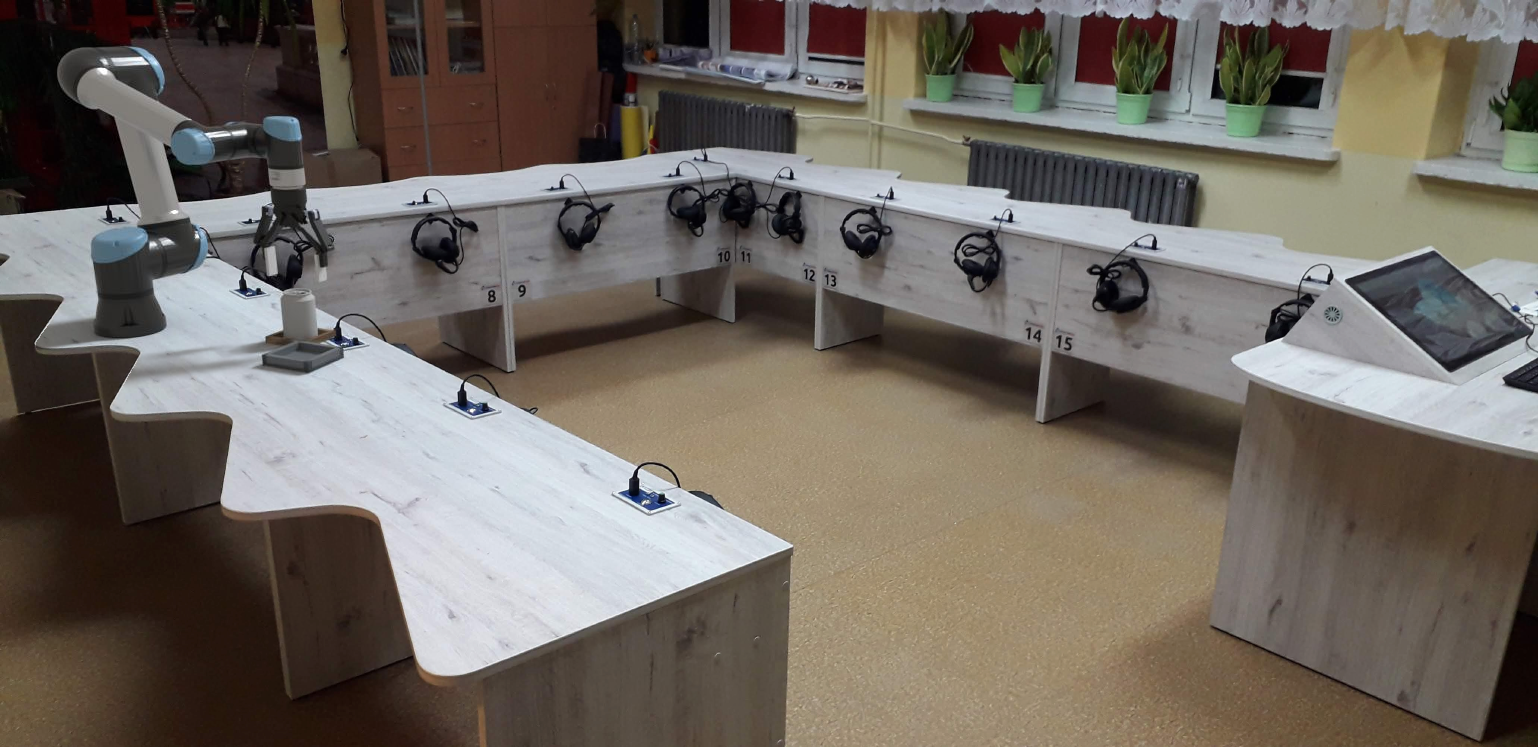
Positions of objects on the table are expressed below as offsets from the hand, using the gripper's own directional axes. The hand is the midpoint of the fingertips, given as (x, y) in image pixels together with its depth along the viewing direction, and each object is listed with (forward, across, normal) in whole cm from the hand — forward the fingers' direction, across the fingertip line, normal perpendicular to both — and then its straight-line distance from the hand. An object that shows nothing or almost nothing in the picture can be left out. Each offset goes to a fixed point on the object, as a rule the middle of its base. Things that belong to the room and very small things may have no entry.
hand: (297, 278), depth 260 cm
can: (+15, 0, 0) cm, 15 cm away
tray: (+15, +10, -13) cm, 23 cm away
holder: (+15, 0, 0) cm, 15 cm away
